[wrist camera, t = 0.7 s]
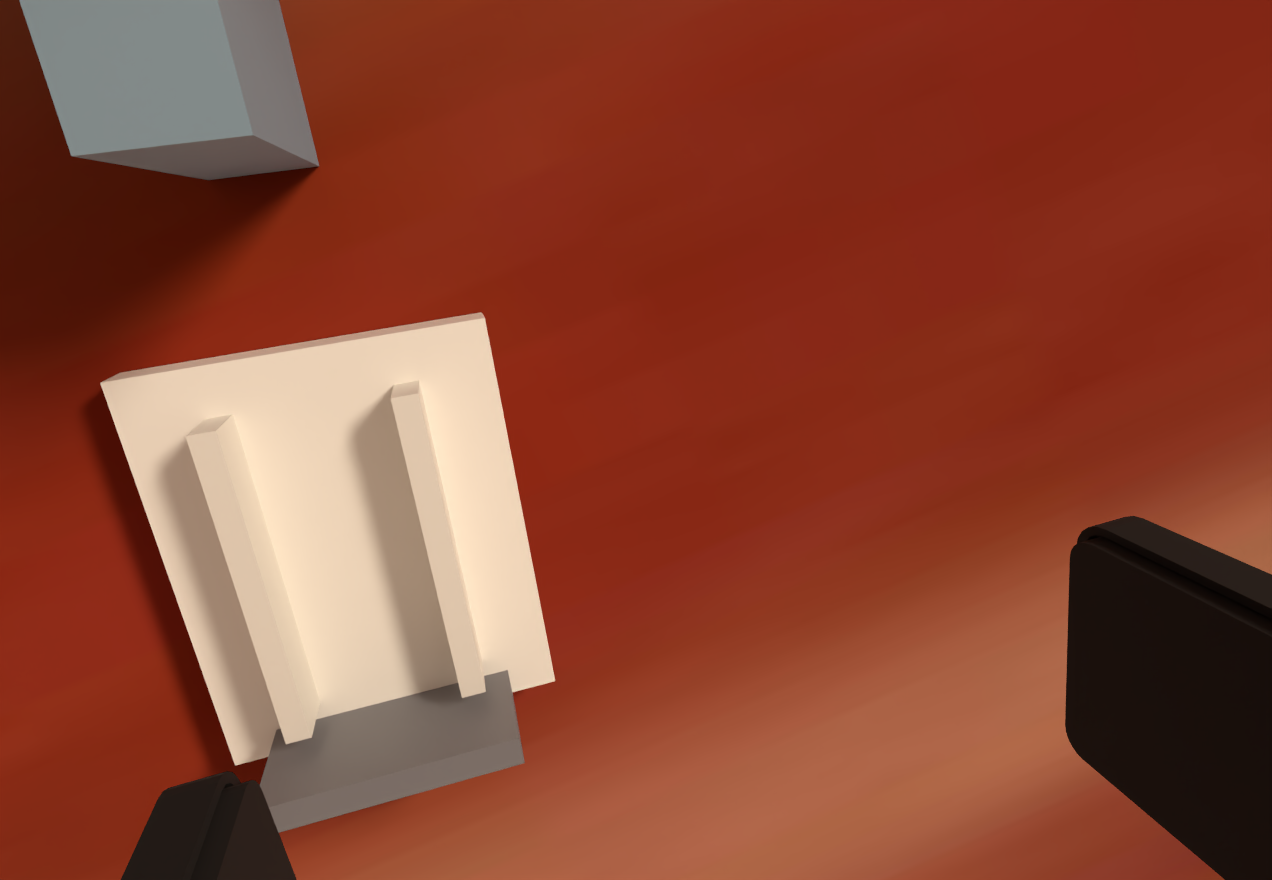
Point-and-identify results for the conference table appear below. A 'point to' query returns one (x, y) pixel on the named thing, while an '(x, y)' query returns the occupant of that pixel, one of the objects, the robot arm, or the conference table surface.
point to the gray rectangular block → (174, 84)
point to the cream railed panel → (345, 557)
